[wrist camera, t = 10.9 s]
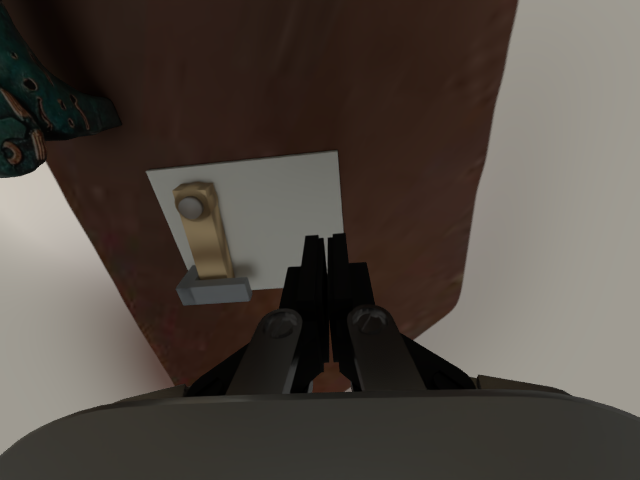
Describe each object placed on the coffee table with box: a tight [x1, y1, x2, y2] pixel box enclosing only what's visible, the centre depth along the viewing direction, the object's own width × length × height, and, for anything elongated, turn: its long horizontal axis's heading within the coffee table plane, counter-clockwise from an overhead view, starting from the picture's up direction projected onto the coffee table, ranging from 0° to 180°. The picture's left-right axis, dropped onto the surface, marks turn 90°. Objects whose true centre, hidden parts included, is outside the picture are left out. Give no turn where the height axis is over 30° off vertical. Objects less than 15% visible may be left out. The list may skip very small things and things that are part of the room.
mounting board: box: [146, 150, 344, 305], centre depth 37 cm, size 20×24×6 cm
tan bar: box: [172, 182, 235, 280], centre depth 38 cm, size 17×4×4 cm, turn 2°
